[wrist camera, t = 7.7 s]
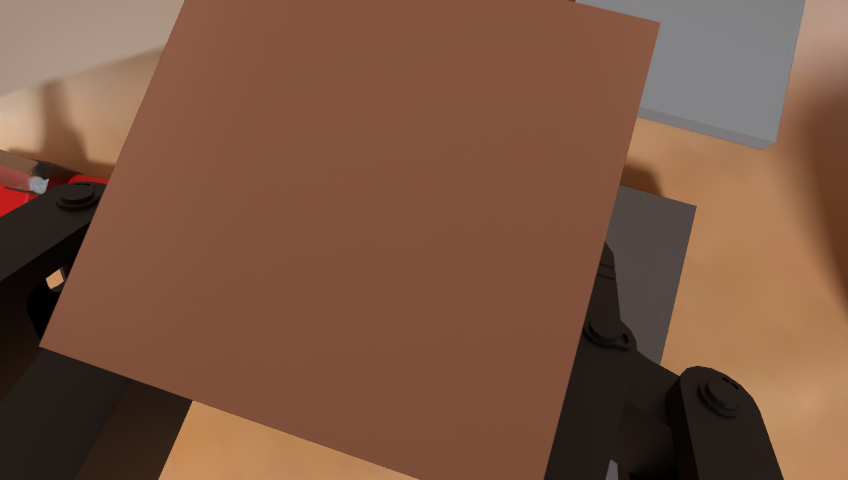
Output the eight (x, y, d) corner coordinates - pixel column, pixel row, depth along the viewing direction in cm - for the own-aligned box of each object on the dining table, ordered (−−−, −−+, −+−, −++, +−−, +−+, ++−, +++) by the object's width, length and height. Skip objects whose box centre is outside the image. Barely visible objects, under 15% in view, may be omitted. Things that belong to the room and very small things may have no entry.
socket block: (670, 218, 24) (696, 206, 22) (601, 509, 22) (621, 532, 20) (293, 111, 26) (277, 89, 23) (196, 371, 24) (167, 377, 21)
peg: (501, 250, 21) (661, 22, 5) (467, 366, 20) (533, 519, 4) (390, 217, 21) (219, -84, 6) (353, 329, 21) (38, 346, 5)
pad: (802, -40, 26) (816, -54, 25) (762, 149, 24) (775, 142, 23) (599, -87, 27) (604, -102, 26) (547, 92, 25) (551, 83, 24)
